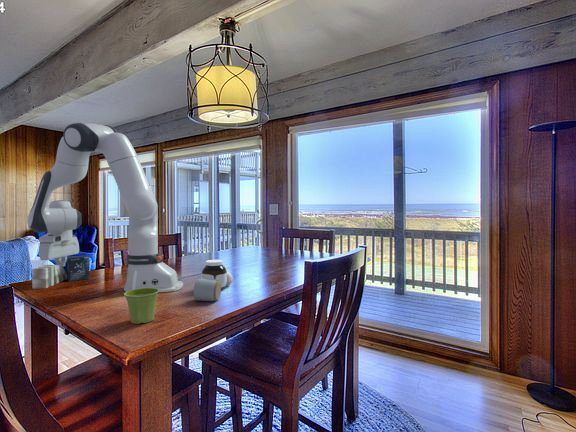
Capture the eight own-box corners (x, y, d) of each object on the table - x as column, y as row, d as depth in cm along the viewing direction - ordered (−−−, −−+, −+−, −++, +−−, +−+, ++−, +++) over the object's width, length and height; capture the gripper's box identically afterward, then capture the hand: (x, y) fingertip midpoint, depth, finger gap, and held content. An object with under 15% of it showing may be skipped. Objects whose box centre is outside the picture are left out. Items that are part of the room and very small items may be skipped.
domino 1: (48, 287, 129) (48, 267, 129) (46, 288, 127) (45, 268, 127) (35, 287, 128) (34, 268, 128) (32, 288, 127) (32, 268, 127)
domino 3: (59, 282, 137) (56, 264, 135) (57, 283, 135) (54, 266, 133) (46, 282, 136) (43, 265, 134) (44, 283, 134) (41, 266, 132)
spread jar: (199, 291, 124) (199, 262, 124) (206, 284, 135) (206, 257, 135) (229, 291, 124) (230, 262, 124) (234, 284, 136) (234, 258, 135)
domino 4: (63, 279, 140) (58, 264, 136) (62, 281, 139) (56, 267, 135) (51, 279, 139) (46, 265, 136) (49, 281, 138) (44, 267, 134)
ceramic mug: (215, 303, 109) (215, 281, 109) (192, 303, 109) (193, 281, 109) (224, 295, 119) (224, 275, 119) (203, 295, 120) (203, 275, 120)
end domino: (68, 276, 144) (61, 265, 138) (66, 279, 142) (60, 268, 137) (56, 277, 143) (49, 265, 138) (54, 279, 142) (47, 268, 137)
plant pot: (116, 324, 90) (116, 294, 89) (142, 313, 98) (142, 286, 98) (141, 328, 86) (141, 297, 86) (166, 317, 95) (166, 289, 95)
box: (69, 281, 138) (69, 258, 138) (66, 279, 142) (66, 256, 142) (90, 279, 144) (89, 256, 143) (87, 277, 148) (86, 254, 148)
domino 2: (53, 285, 133) (53, 266, 132) (51, 285, 131) (51, 266, 131) (40, 285, 132) (40, 266, 132) (38, 286, 130) (38, 267, 130)
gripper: (69, 234, 152) (70, 262, 152) (35, 238, 132) (36, 271, 132) (82, 234, 152) (83, 262, 152) (50, 238, 132) (51, 271, 132)
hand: (61, 266), depth 142 cm, fingers closed
